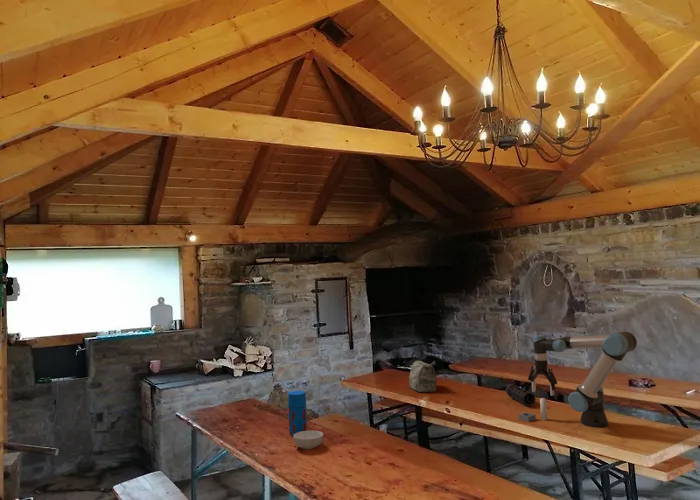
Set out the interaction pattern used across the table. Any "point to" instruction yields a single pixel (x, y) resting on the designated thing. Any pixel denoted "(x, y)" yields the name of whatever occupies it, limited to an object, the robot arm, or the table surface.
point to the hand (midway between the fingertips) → (543, 393)
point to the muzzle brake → (520, 395)
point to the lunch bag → (422, 377)
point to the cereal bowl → (308, 439)
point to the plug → (543, 409)
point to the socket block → (527, 416)
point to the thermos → (297, 412)
